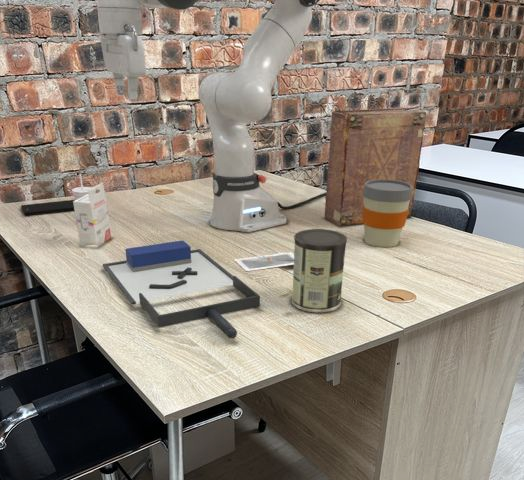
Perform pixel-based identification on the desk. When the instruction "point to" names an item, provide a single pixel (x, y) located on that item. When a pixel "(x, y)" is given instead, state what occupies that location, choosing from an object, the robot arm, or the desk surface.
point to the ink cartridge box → (92, 217)
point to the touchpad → (266, 261)
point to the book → (370, 157)
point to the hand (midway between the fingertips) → (127, 97)
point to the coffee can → (318, 270)
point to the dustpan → (207, 310)
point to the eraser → (158, 256)
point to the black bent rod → (171, 286)
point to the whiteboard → (169, 278)
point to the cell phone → (48, 207)
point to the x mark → (184, 273)
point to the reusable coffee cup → (385, 211)
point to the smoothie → (80, 190)
